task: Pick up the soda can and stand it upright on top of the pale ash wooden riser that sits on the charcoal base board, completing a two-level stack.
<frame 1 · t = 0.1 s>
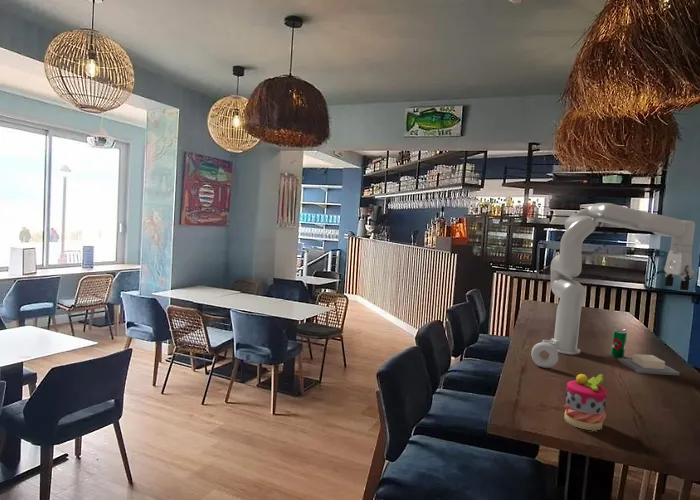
hand: (676, 287, 198), 31 cm above the table, tool pointing down, fingers open, 9 cm apart
soda can: (617, 357, 197), on the table
build base: (647, 367, 184), on the table
cake: (582, 423, 131), on the table
donut: (543, 367, 177), on the table
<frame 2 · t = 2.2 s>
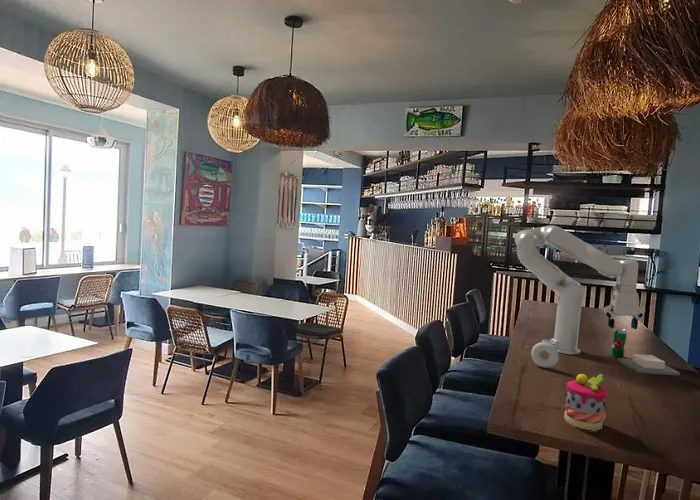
hand: (622, 327, 196), 13 cm above the table, tool pointing down, fingers open, 9 cm apart
nothing on the table moved.
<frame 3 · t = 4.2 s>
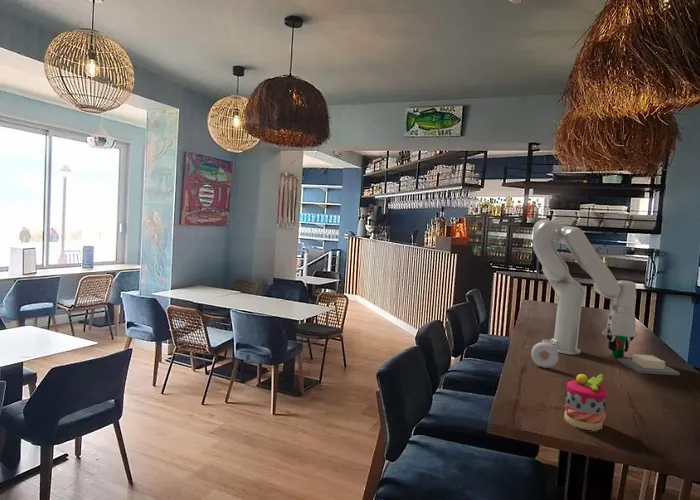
hand: (618, 350, 197), 3 cm above the table, tool pointing down, fingers closed on soda can, 5 cm apart
soda can: (617, 357, 197), on the table, touching gripper
everything else where it was.
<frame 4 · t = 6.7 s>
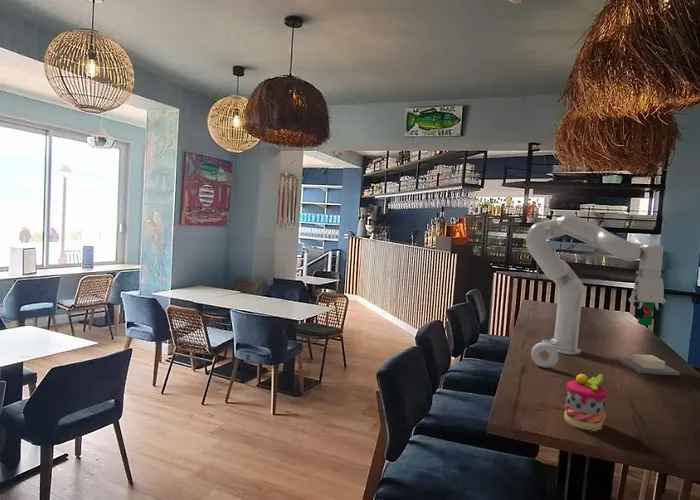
hand: (645, 317, 186), 20 cm above the table, tool pointing down, fingers closed on soda can, 5 cm apart
soda can: (644, 325, 186), point 17 cm above the table, touching gripper
everything else where it was.
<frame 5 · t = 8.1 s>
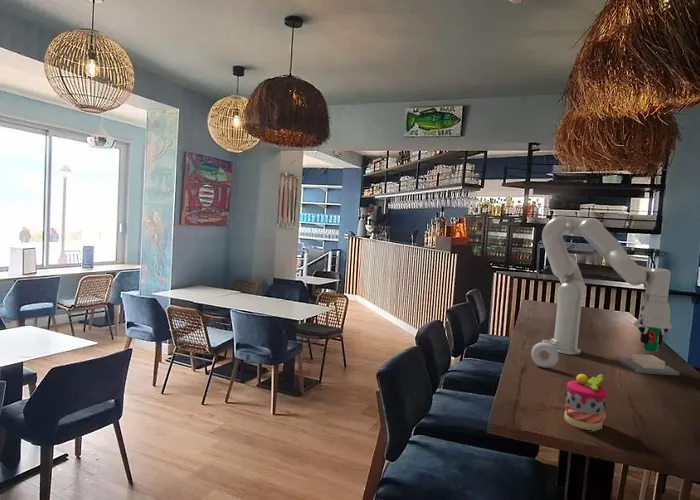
hand: (650, 342, 183), 10 cm above the table, tool pointing down, fingers closed on soda can, 5 cm apart
soda can: (650, 350, 183), point 7 cm above the table, touching gripper
everything else where it was.
when the fingers open (8 cm above the table, at t = 9.2 s): soda can drops 1 cm, resting on build base.
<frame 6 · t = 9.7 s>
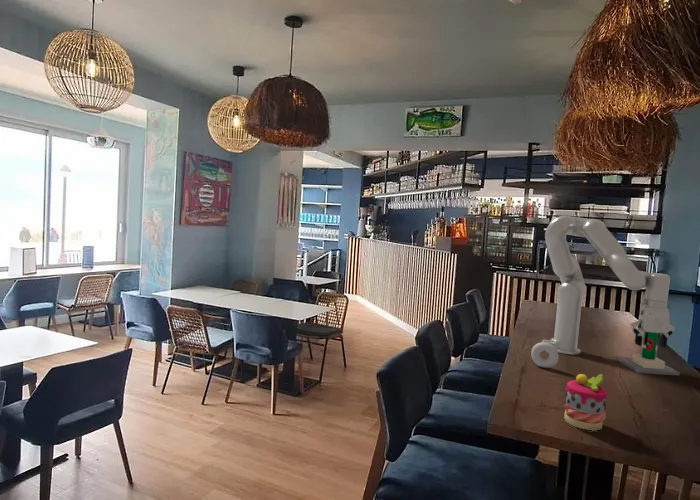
hand: (650, 345, 183), 9 cm above the table, tool pointing down, fingers open, 9 cm apart
soda can: (648, 358, 184), point 4 cm above the table, touching build base
everything else where it was.
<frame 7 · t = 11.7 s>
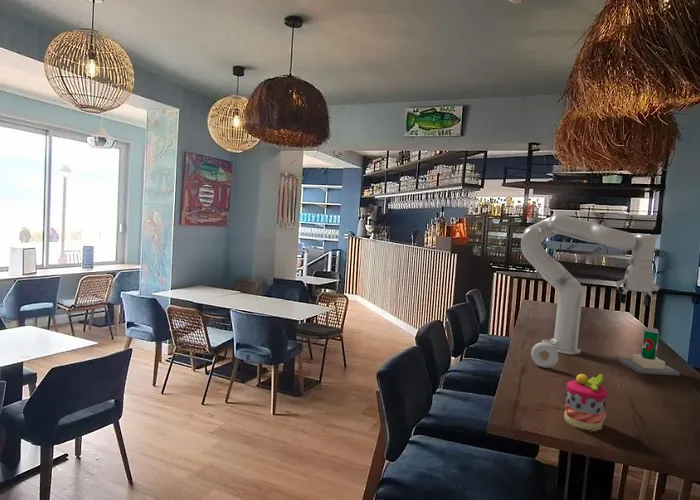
hand: (634, 304, 190), 24 cm above the table, tool pointing down, fingers open, 9 cm apart
nothing on the table moved.
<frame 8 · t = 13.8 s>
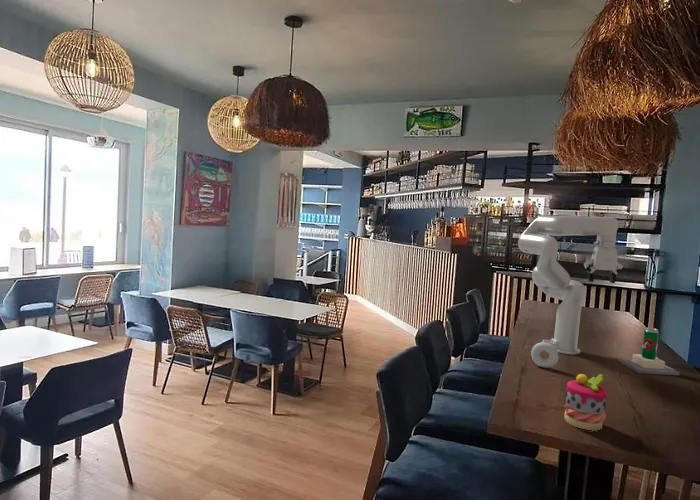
hand: (601, 282, 208), 30 cm above the table, tool pointing down, fingers open, 9 cm apart
nothing on the table moved.
at the end: soda can 0.1 cm off-centre on the build base, point 4.0 cm above the build base's base; soda can tilted 0°; the gripper is holding nothing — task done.
